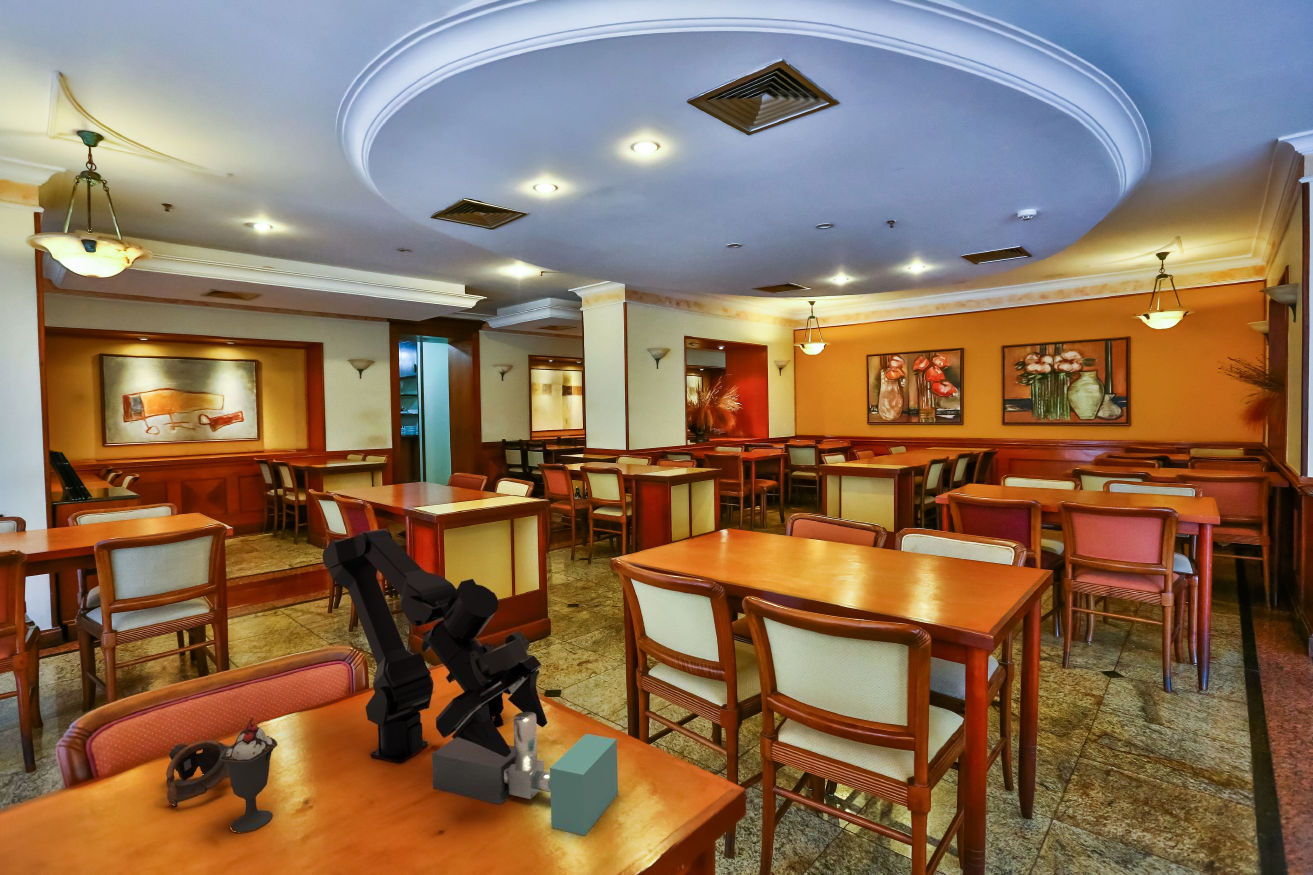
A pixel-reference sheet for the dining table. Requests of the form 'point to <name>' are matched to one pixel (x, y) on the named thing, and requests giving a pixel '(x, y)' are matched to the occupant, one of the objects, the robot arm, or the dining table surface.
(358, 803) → the dining table surface
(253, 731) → the sundae
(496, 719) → the cat figurine
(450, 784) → the grey rectangular box
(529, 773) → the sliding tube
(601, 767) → the teal block
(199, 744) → the strapped goggles
